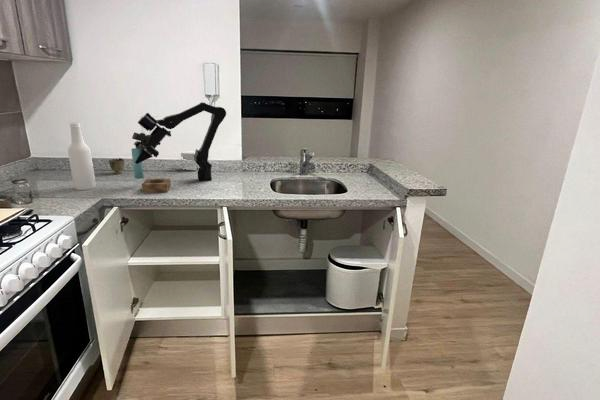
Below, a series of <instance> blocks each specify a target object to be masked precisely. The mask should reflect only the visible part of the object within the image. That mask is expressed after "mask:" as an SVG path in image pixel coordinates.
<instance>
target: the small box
mask: <svg viewBox="0 0 600 400" xmlns="http://www.w3.org/2000/svg"><path fill="white" fill-rule="evenodd" d="M194 154H195V153H182V152H180V157H183V159H186V160H192V161H194Z"/></svg>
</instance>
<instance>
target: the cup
mask: <svg viewBox="0 0 600 400" xmlns="http://www.w3.org/2000/svg"><path fill="white" fill-rule="evenodd" d="M108 163H109V167H110V169H111V170H112V171H113V172H114V174H116V175H119V174H120V173H121V174H122V172H123V170H124V167H125V166H124V165H125V159H124V158H119V157H117V158H110V159H108Z"/></svg>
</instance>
